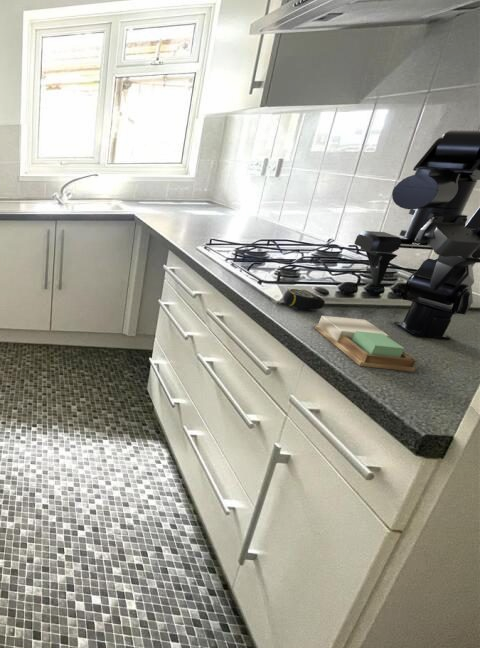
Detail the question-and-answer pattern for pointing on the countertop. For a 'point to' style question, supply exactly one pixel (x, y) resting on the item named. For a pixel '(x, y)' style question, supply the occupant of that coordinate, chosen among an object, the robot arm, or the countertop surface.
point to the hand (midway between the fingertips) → (403, 287)
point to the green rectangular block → (377, 344)
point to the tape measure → (303, 299)
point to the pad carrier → (342, 335)
